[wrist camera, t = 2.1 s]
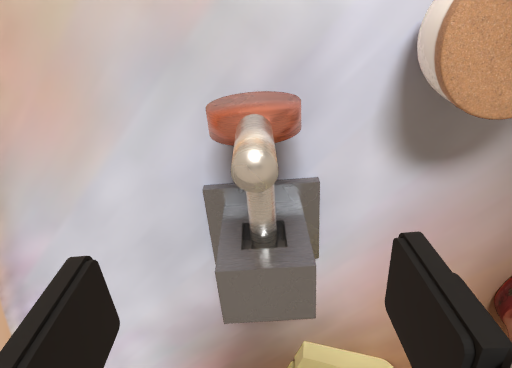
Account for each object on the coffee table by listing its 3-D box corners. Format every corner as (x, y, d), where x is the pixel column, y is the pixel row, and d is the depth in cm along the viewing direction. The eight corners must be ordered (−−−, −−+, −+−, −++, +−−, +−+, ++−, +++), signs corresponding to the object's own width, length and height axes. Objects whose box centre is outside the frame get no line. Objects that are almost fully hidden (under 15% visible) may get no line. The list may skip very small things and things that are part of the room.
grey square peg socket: (203, 185, 35) (185, 253, 26) (318, 177, 35) (342, 243, 25) (216, 258, 40) (204, 340, 31) (317, 252, 40) (337, 332, 30)
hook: (210, 92, 28) (181, 155, 17) (295, 86, 28) (324, 144, 16) (235, 272, 37) (228, 391, 26) (299, 268, 37) (319, 386, 26)
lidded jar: (420, 116, 32) (478, 155, 24) (377, 8, 28) (430, 10, 20) (538, 53, 30) (649, 72, 21) (512, -77, 25) (638, -116, 17)
